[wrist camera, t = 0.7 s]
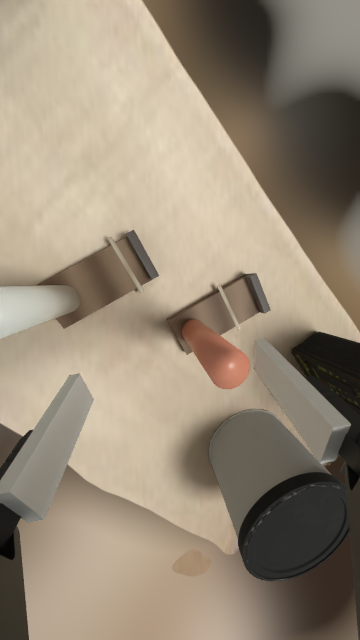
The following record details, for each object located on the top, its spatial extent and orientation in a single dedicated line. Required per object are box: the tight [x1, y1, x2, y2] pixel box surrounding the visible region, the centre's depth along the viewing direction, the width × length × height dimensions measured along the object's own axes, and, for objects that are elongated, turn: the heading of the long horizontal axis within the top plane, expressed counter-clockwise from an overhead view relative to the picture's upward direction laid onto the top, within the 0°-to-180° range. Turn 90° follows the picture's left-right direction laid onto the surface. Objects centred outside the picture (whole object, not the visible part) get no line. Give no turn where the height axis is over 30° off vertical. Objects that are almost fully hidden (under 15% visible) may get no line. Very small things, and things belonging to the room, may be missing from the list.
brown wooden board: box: [36, 230, 159, 328], centre depth 26 cm, size 16×9×3 cm, turn 119°
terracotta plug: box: [182, 319, 250, 389], centre depth 23 cm, size 4×4×14 cm
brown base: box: [167, 273, 270, 355], centre depth 31 cm, size 16×9×3 cm, turn 119°
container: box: [209, 409, 350, 581], centre depth 33 cm, size 19×19×15 cm
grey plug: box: [0, 285, 80, 339], centre depth 19 cm, size 4×4×14 cm
